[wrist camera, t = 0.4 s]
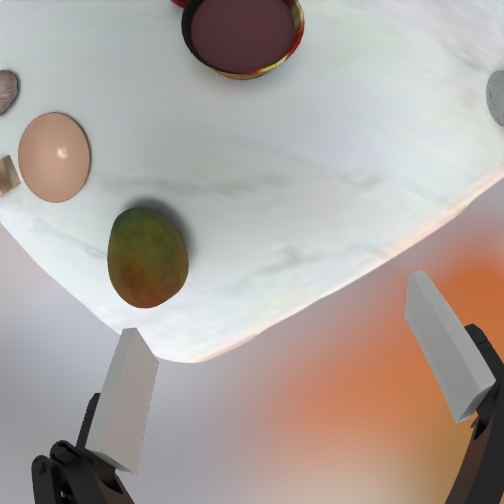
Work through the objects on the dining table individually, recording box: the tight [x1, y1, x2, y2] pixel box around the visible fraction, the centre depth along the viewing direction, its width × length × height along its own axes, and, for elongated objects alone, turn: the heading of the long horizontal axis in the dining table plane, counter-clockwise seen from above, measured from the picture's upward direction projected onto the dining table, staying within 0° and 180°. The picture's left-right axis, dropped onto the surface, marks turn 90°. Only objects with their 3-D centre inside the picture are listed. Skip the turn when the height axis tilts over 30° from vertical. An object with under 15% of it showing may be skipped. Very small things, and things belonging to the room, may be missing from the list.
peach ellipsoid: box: [18, 113, 90, 203], centre depth 33 cm, size 13×13×1 cm
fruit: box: [107, 207, 189, 308], centre depth 37 cm, size 12×12×10 cm
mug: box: [171, 0, 305, 80], centre depth 23 cm, size 10×14×12 cm
